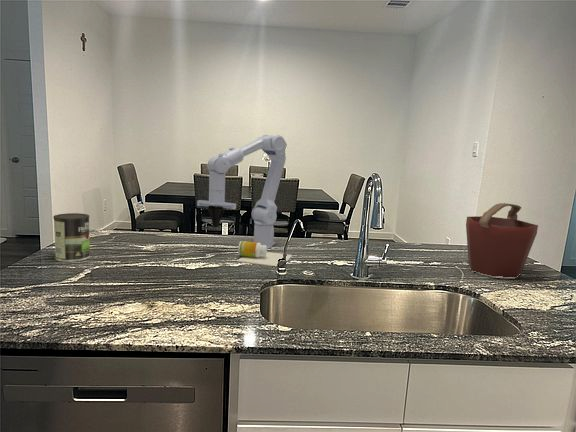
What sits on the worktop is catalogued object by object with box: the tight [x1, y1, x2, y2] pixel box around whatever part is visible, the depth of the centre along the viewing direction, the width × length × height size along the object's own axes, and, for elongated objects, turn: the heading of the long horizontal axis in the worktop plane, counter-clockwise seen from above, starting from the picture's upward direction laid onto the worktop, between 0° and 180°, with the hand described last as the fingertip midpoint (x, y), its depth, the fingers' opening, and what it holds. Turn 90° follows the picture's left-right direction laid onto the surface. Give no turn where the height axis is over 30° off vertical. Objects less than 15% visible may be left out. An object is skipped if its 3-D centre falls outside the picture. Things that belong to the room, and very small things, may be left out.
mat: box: [236, 251, 294, 268], centre depth 148 cm, size 16×16×1 cm
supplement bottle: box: [237, 240, 268, 258], centre depth 148 cm, size 5×5×10 cm
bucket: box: [465, 202, 539, 277], centre depth 146 cm, size 24×22×25 cm
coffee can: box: [52, 212, 91, 263], centre depth 135 cm, size 10×10×14 cm
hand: (215, 226), depth 153 cm, fingers closed
